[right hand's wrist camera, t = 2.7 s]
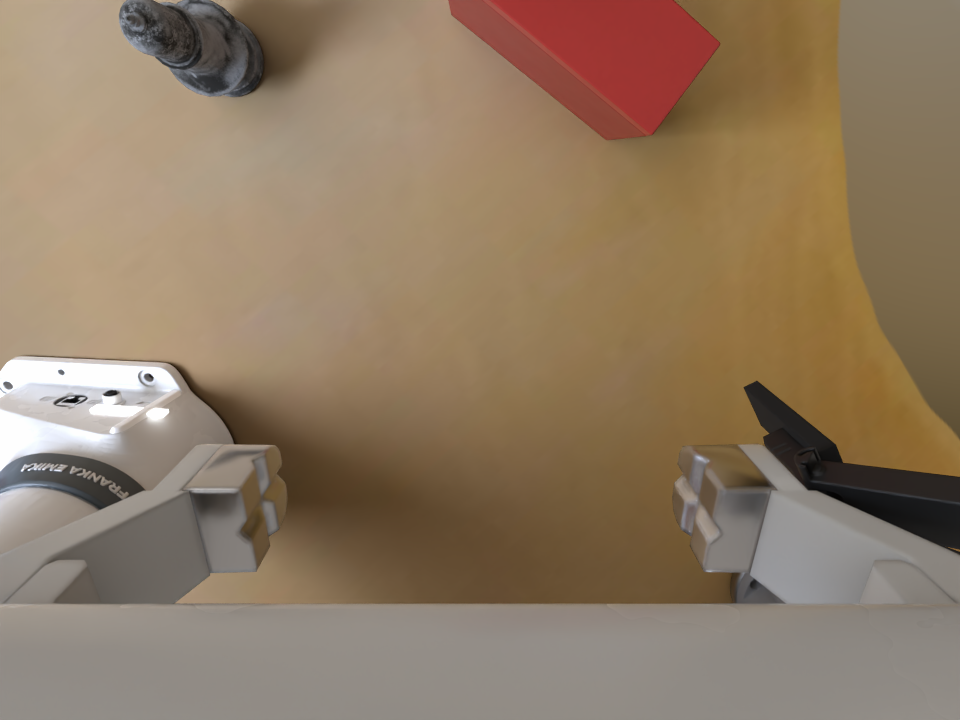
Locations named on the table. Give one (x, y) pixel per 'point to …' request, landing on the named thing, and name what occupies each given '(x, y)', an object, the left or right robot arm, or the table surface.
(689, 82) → the lid
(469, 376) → the table surface
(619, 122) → the chest
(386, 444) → the table surface
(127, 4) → the grey chess bishop
